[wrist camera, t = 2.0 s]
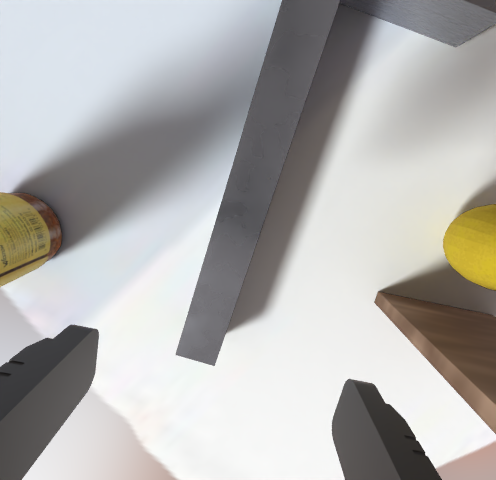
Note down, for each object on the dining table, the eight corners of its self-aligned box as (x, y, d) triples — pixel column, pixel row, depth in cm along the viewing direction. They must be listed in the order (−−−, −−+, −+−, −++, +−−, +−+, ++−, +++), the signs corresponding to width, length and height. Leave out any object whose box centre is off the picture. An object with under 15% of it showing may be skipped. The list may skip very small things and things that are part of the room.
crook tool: (187, 325, 25) (175, 354, 21) (307, -69, 18) (322, -135, 14) (314, 363, 25) (326, 398, 22) (476, -2, 19) (536, -47, 15)
